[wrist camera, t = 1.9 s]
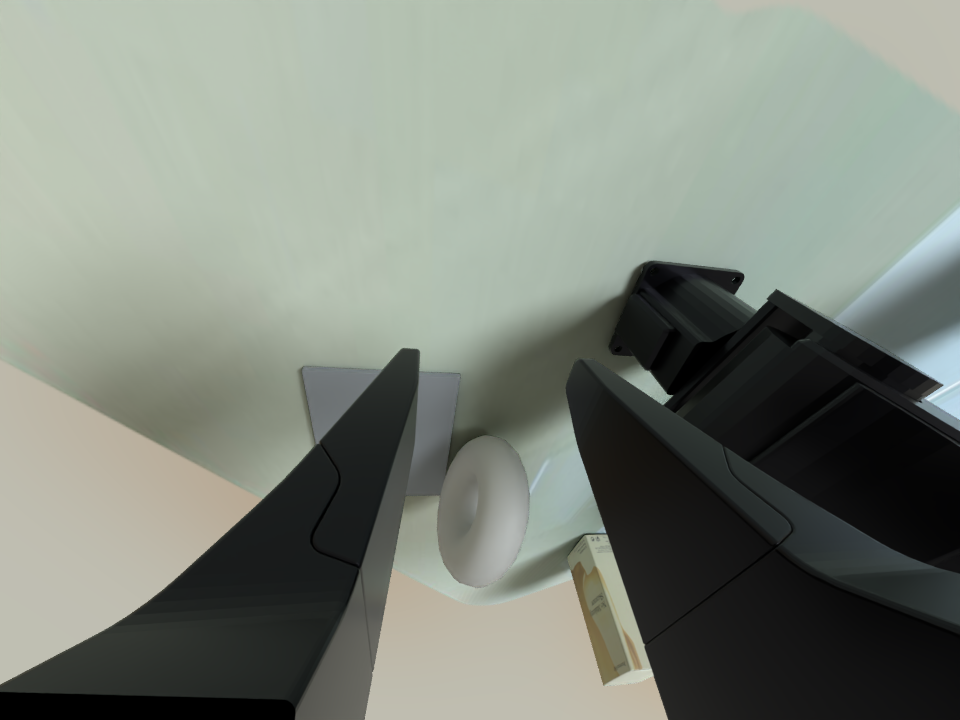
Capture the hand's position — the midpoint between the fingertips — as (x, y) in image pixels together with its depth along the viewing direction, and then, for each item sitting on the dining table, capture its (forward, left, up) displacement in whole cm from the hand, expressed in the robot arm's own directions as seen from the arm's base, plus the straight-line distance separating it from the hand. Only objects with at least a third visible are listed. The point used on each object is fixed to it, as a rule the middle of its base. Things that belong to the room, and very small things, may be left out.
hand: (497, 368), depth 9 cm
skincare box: (-20, +36, -12) cm, 43 cm away
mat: (+4, +17, -12) cm, 21 cm away
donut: (-3, +18, -12) cm, 22 cm away
